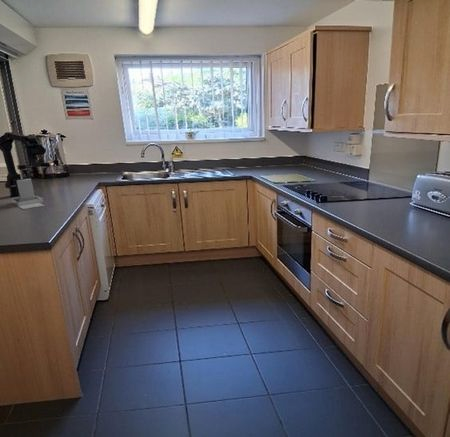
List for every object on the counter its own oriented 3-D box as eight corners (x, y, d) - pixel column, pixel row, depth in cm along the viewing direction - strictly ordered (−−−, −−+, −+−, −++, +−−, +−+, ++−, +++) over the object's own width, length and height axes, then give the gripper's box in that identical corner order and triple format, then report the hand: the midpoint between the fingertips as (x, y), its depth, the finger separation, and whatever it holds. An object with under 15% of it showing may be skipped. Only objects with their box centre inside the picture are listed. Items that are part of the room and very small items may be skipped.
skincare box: (35, 201, 232) (31, 178, 228) (35, 202, 227) (31, 179, 223) (20, 202, 228) (16, 179, 224) (20, 204, 223) (16, 180, 219)
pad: (17, 206, 217) (17, 205, 217) (38, 203, 225) (38, 202, 225) (23, 209, 209) (22, 208, 209) (44, 205, 217) (44, 205, 217)
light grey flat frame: (10, 201, 234) (9, 197, 233) (33, 197, 243) (32, 194, 242) (18, 206, 218) (18, 202, 217) (43, 202, 227) (42, 198, 226)
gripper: (18, 156, 222) (23, 181, 226) (50, 154, 234) (54, 178, 238) (14, 156, 230) (19, 180, 234) (45, 153, 242) (49, 176, 246)
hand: (36, 178), depth 238 cm, fingers open, 9 cm apart
